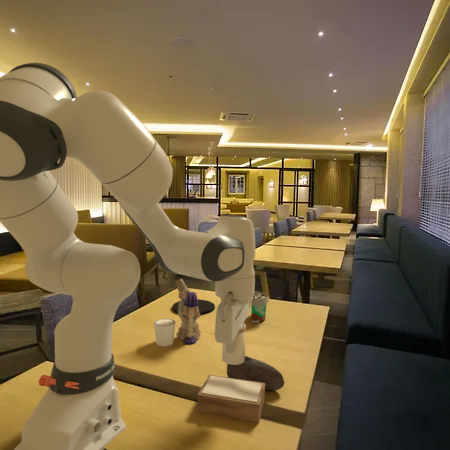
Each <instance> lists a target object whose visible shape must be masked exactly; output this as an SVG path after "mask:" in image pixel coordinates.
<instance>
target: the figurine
mask: <svg viewBox="0 0 450 450" xmlns="http://www.w3.org/2000/svg"><path fill="white" fill-rule="evenodd" d="M175 286H176V288H177V290H178V299H180V301H181V302H179V307H178V314H177V315H179V318H180V321H181V323H180V327H178V331H177V332H176V334H175V336H176V337H179V339H180V340H182V341H184V338H185V337H187V333H188V319H189V318H188V317H189V313H188V311H189V308H188V307H186V306H185V305H184V302H185V299H186V295H187V293H188V292H191V290H190V289H189V288H188V286H187V285H186V283H185V282H184V280H183V278H180V279H177V280H176V281H175ZM193 311H194V313H193V331H192V336H193V337H195V339H196V340H198V339H199V338H201V330H200V326H199V323H198V322H197V320H198V319H199V318H200V317H201V315H200V313H199V308H198V307H197V306H196V307H194V309H193Z"/></svg>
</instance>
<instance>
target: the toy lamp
mask: <svg viewBox="0 0 450 450" xmlns="http://www.w3.org/2000/svg"><path fill="white" fill-rule="evenodd" d="M184 305H185V306H186V307H188V308H189V311H188V313H189V317H188V318H189V319H188V333H187V337H185V338H184V340H182V341H183V343H184V345H187V346H188V345H196V343H197V339H195V337H193V336H192V331H193V313H194V311H193V309H194V307H196V306H198V296H197V292H194V291H190V292H188V293H187V295H186V299H185V302H184Z"/></svg>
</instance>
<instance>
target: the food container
mask: <svg viewBox="0 0 450 450" xmlns="http://www.w3.org/2000/svg"><path fill="white" fill-rule="evenodd" d="M268 303H269V297H268V295H267V294H266V293H264V292H260V291H255V290H254V296H253V297H252V299H251V307H250V313H251V314H250V315H251V317H250V320H251V321H250V322H251V324H261V323H264V322H265V321H266V312H267V304H268Z"/></svg>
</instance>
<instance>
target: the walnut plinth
mask: <svg viewBox="0 0 450 450" xmlns="http://www.w3.org/2000/svg"><path fill="white" fill-rule="evenodd" d="M196 396H197V398H196V399H197V404H196V405H197V407H196V409H197V410H196V412H199V413H205V414H209V415H214V416H220V417H226V418H231V419H237V420H241V421H247V422H254V423H260V421H261V415H262V412H263V409H264V404H265V399H266V390H265V383H261V382H254V381H247V380H241V379H234V378H228V376H227V377H225V376H220V375H213V374H209V375H208V376H207V378H206V380H205V381H204V383H203V385H202V386H201V388H200V389H199V391H198V393H197V395H196Z"/></svg>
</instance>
